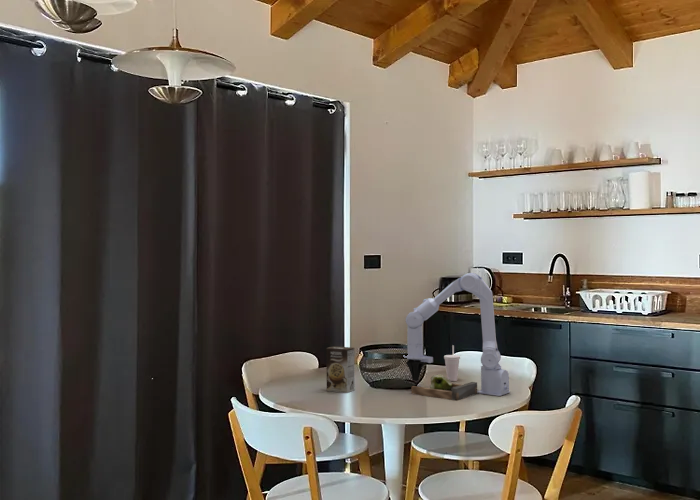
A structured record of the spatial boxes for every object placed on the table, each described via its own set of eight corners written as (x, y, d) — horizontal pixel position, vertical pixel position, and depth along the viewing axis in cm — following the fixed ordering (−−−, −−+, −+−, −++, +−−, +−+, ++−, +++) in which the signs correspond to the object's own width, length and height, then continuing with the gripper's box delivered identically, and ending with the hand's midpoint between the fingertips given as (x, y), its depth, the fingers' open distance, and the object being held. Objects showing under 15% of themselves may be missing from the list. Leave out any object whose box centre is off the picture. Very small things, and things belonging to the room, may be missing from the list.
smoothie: (455, 382, 267) (455, 346, 267) (441, 380, 271) (440, 345, 271) (463, 379, 272) (462, 344, 272) (449, 378, 276) (448, 343, 276)
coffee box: (325, 391, 255) (325, 347, 255) (334, 388, 260) (333, 345, 260) (347, 393, 250) (346, 349, 250) (355, 389, 256) (354, 346, 256)
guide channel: (477, 393, 246) (477, 382, 246) (456, 400, 235) (456, 388, 235) (433, 387, 258) (432, 376, 258) (411, 393, 248) (411, 382, 248)
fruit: (443, 400, 243) (438, 378, 242) (425, 398, 250) (420, 377, 250) (460, 391, 248) (456, 370, 248) (442, 389, 256) (438, 369, 255)
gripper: (393, 343, 257) (393, 379, 257) (425, 346, 247) (425, 384, 247) (404, 341, 262) (404, 377, 262) (435, 344, 253) (436, 381, 253)
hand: (415, 380), depth 255 cm, fingers closed
